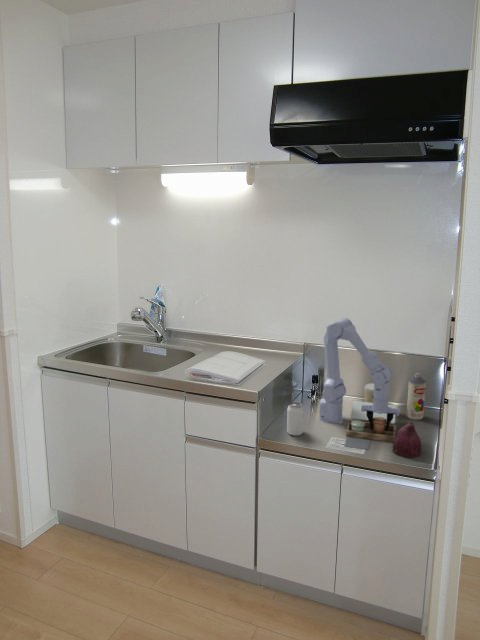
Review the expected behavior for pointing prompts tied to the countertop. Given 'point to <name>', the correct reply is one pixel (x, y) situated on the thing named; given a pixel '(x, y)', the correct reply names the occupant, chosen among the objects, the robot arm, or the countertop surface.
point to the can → (295, 419)
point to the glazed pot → (358, 426)
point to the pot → (379, 425)
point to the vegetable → (407, 442)
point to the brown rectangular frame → (370, 434)
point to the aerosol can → (416, 397)
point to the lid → (361, 415)
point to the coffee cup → (369, 392)
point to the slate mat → (357, 443)
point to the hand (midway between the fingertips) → (379, 429)
